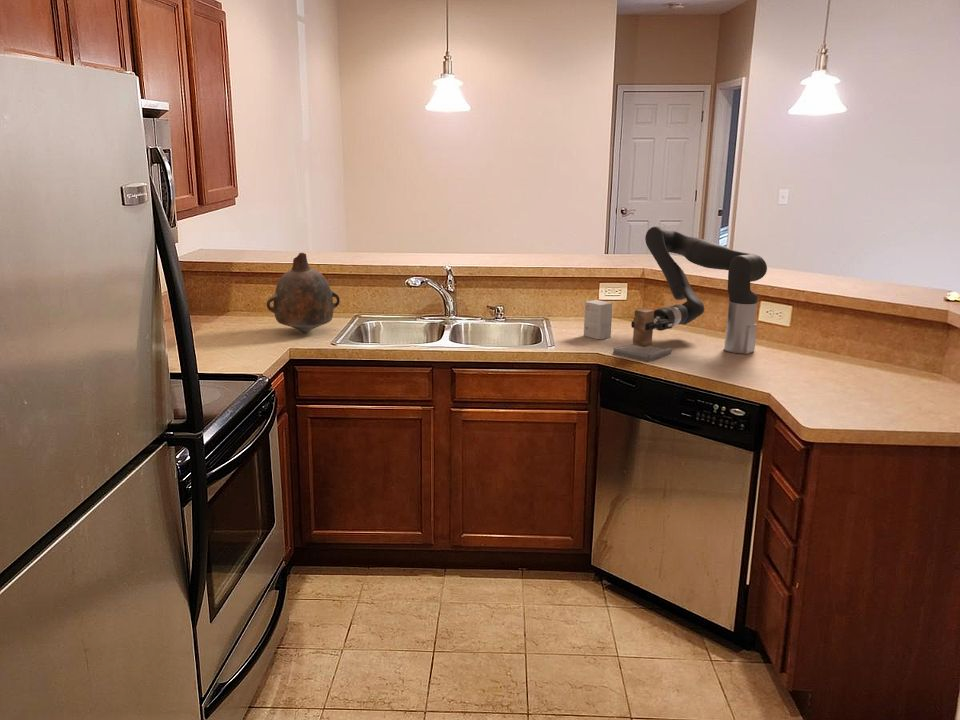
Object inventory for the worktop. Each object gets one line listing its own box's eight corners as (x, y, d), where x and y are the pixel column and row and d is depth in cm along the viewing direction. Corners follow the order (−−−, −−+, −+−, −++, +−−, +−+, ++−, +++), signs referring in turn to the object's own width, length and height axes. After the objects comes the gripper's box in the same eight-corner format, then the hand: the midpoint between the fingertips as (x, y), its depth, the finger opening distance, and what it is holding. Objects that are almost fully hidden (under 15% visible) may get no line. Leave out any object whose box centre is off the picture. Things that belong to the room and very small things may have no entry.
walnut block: (651, 344, 267) (654, 310, 264) (644, 347, 264) (646, 312, 260) (640, 342, 270) (642, 308, 267) (632, 344, 267) (634, 310, 264)
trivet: (670, 353, 268) (671, 348, 267) (648, 361, 258) (649, 355, 257) (635, 346, 277) (636, 340, 277) (613, 353, 267) (613, 347, 267)
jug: (310, 322, 307) (307, 245, 299) (349, 330, 295) (346, 250, 287) (259, 334, 288) (254, 252, 280) (298, 343, 276) (293, 258, 268)
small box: (611, 337, 289) (613, 302, 286) (599, 340, 285) (601, 305, 282) (594, 333, 295) (596, 299, 292) (583, 335, 291) (584, 301, 288)
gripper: (649, 304, 279) (621, 311, 267) (685, 310, 269) (658, 318, 257) (647, 324, 281) (620, 333, 269) (683, 332, 271) (657, 340, 259)
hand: (639, 326), depth 263 cm, fingers closed on walnut block, 4 cm apart
